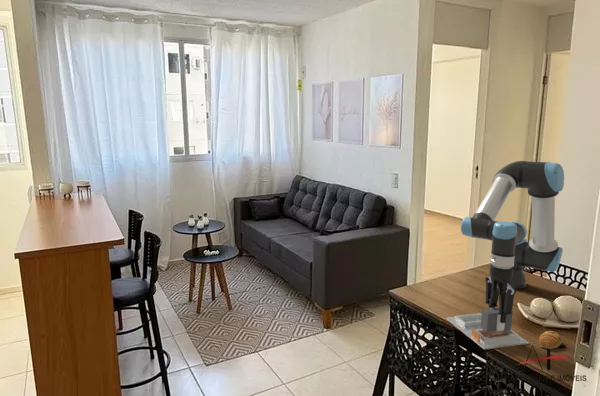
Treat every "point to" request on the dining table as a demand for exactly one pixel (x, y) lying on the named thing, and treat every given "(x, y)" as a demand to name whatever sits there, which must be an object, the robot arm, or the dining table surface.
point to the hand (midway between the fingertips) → (496, 327)
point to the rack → (485, 339)
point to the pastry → (550, 340)
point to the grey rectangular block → (493, 320)
